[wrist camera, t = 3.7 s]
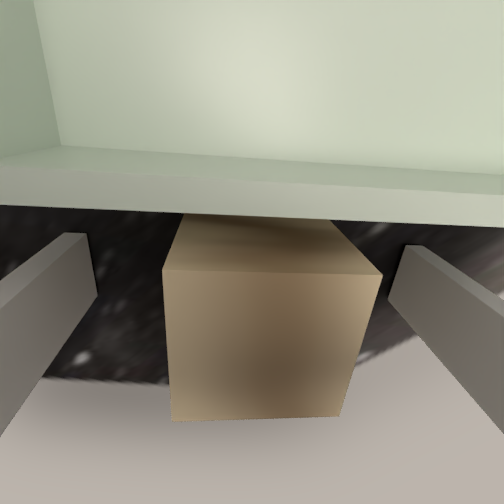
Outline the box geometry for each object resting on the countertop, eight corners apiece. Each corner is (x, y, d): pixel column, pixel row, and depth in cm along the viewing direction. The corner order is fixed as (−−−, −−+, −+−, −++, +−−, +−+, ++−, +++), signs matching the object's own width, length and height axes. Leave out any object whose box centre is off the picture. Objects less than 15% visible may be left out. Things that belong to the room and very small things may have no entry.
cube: (190, 313, 13) (172, 421, 8) (188, 203, 11) (161, 270, 6) (300, 314, 13) (339, 416, 9) (319, 209, 11) (383, 275, 7)
